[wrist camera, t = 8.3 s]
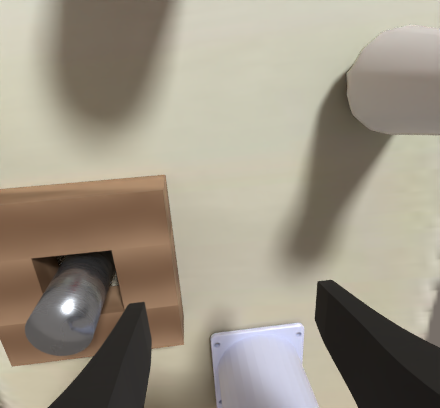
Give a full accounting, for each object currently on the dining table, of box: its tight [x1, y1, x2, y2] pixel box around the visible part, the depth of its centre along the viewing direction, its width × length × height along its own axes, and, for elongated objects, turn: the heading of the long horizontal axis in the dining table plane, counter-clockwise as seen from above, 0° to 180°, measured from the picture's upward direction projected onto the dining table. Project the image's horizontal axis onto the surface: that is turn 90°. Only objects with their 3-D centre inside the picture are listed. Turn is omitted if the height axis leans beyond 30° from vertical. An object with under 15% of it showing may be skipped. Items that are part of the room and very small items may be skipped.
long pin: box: [25, 250, 115, 356], centre depth 20 cm, size 3×3×7 cm
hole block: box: [0, 175, 184, 366], centre depth 22 cm, size 12×12×3 cm
